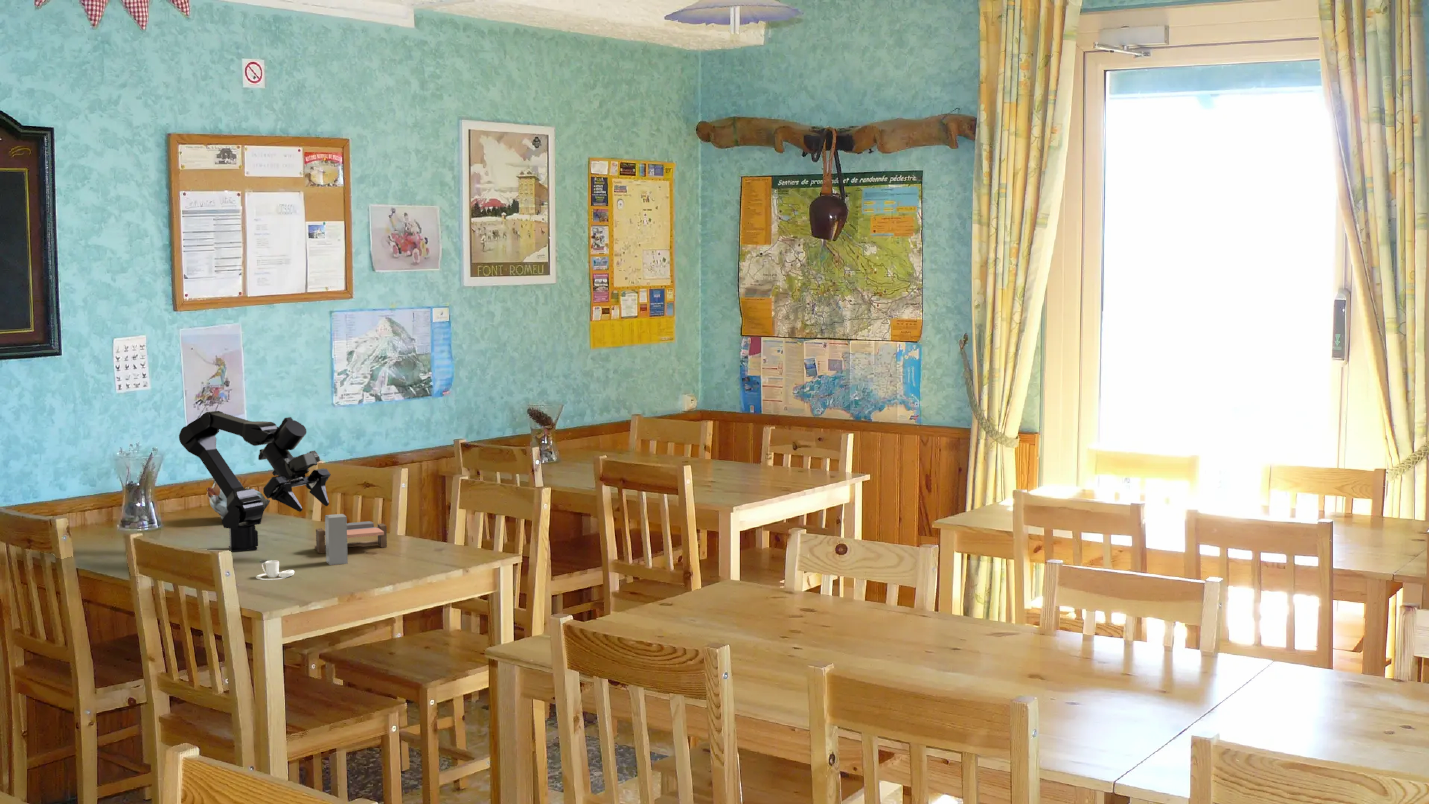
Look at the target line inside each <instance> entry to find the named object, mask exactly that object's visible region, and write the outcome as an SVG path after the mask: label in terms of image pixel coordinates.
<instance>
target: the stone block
mask: <svg viewBox="0 0 1429 804" xmlns="http://www.w3.org/2000/svg"><path fill="white" fill-rule="evenodd" d="M347 521H348V519H347V516H346V515H345V514H344V513H338V514H337V513H336V514H326V515H324V531H325V545H326V549H325V562H326V563H327V564H328V565H329V566H333V565H336V566H337V565H344V564H347V565H348V562H349V561H348V560H349V559H348V547H347V543H348V538H347Z"/></svg>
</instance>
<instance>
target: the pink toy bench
mask: <svg viewBox="0 0 1429 804" xmlns="http://www.w3.org/2000/svg"><path fill="white" fill-rule="evenodd" d="M377 527H378V528H379V529H381V530H382V531H383V532H384V535H377V539H376V540H365V541H354V542H347V548H352V547H353V548H354V547H364V546H376V545H377V546H379V547H380V548H381V549H382V548H388V539H387V538H388V536H387V535H388V534H387V531H388V530H387V529H388V528H387V525H386V524H384V523H377ZM315 544H316V545H314V550H316V552H317V553H318V554H326V538H325V529H323V528H321V527H320V528H316V529H315Z"/></svg>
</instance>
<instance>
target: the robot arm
mask: <svg viewBox="0 0 1429 804" xmlns="http://www.w3.org/2000/svg"><path fill="white" fill-rule="evenodd" d="M220 431H224V432H227V433H229V434H234V435H237V436H239V437H241V438H242V439H243V440H244V442H246V443H248V444H250V445H251V446H252V447H253V446H254V447H256V446H264V445H265V446H264V448H261V449H259V454H258V458H257V459H258V461H263V460H267V462H268V463H269V465H270V466H271V468H272V469H273V471H272V472H271V474H272V475H273V476H272V477H271V478H270V479H269V480H268V482H267V483H266V484H265V486H264V487H263V494H264V497H265V498H266V499H268V500H269V499H271V500H272V501H277V502H279V503H281V504H284V505H286V506H288V507H290V508H291V509H293V510H296V511H297V512H299V513H301V512H302V511H303V507H302V505H301V503H300V501H299V500H298V498H297V497H296V495H295V494H294V492H293V488H296V487H302V486H305V487H306V489H308V492H309V493H310V494H311V495H312V496H313V497H314V498H315V499H317V501H319V502H320V503H321V504H322V505H323V506H324V507H328V506H329V505H330V502H329V498H328V492H327V489H326V484H327V481H328V480H329V478H330V477H331V476H332V475H331V472H330V471H329V470H328V469H327V468H317V469H313V470H312V471H311V473H310V474H309V475H307V474H308V473H309V471H310V468H312V467H314V466H317V465H318V463H319V462H320V461H321V458H320V455H319V454H318V453H317V451H316V450H311V451H308V452H306V453H302V454H300V455H298V456H293V454H292V453H291V452H290V451H293V450H295V449H296V447H297V446H298V445H299V444H300V442H301V441H302V440H303V438H304V437H306V435H307V428H306V427H305V426H304V424H302V423H301V422H299V421H297V420H294V419H293V418H292V417H291V416H289V417H284V418H283V419H282V422H281V423H280V424H279V426H277V424H276V423H275V422H274V421H273V422H272V421H265V420H264V421H263V420H262V421H259V420H258V421H252V420H248V419H245V418H241V417H238V416H235V415H234V416H233V415H231V414H227V413H224V412H223V411H220V410H212V411H206V412H204V413H202V415H201V416H199V417H198V418H197V419H195V420H193V421H191V422H190V423H188V424H187V425H186V426H183V427H182V428H181V430H180V432H179V433H178V439H179V443H180V444H181V446H183V448H184V449H185V450H186V451H187V452H188V453H189V454H192V455H194V456H196V457H197V458H199V459H200V461H201V462H202V464H203V465H204V467H205V469H206V470H207V471H208V472H209V474H210V476H211V477H212V479H213V481H214V480H215V481H216V483H217V484H218V486H219V487H220V489H221V490H222V492H223V493H224V495H225V496H226V498H227V510H228V513H227V514H226V515H225V517H224V518H223V519H221V523H222V526H223V528H224V529H228V530H229V531H228V533H229V545H228V548H229V550H230V551H231V552H232V551H233V552H245V551H255V550H258V546H259V532H258V530H257V529H256V525H261V523H262V519H263V516H264V515H263V514H264V512H265V510H264V505H263V503H262V501H261V500H262V499H261V498H260V497H259V496H258V494H257V492H256V489H255V488H251V489H248V490H246V489H245V488H246V487H244V486H243V484H242V483H241V484H242V485H241V484H240V482H241V481H240V480H239V479H238V478H237V476H236V474H235V473H234V472H233V471H232V469H231V467H230V466H229V465H228V464H227V462H226V460H225V459H224V457H223V455H222V454H221V453H220V451H219V450H218V449H217V438H216V436H217V435H218V434H219V433H220ZM306 475H307V476H306ZM238 480H239V481H240V482H239V481H238ZM243 487H244V488H243Z"/></svg>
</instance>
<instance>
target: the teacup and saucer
mask: <svg viewBox="0 0 1429 804" xmlns="http://www.w3.org/2000/svg"><path fill="white" fill-rule="evenodd" d="M264 565H265V568H264ZM261 568H262V570H263V572H264V573H260V574H258V575H256V576H255V579H258V580H261V581H275V580H282V579H283V580H284V579H286V578H289V577H291V576H293V575H294V574H295V570H294V569H287V570H283V571H280V561H279V560H274V559H272V560H271V559H270V560H267V561H266V560H265V562H263V563H261ZM266 575H267V577H268V578H262V577H263V576H266ZM278 576H279V577H278ZM277 577H278V578H277Z"/></svg>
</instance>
